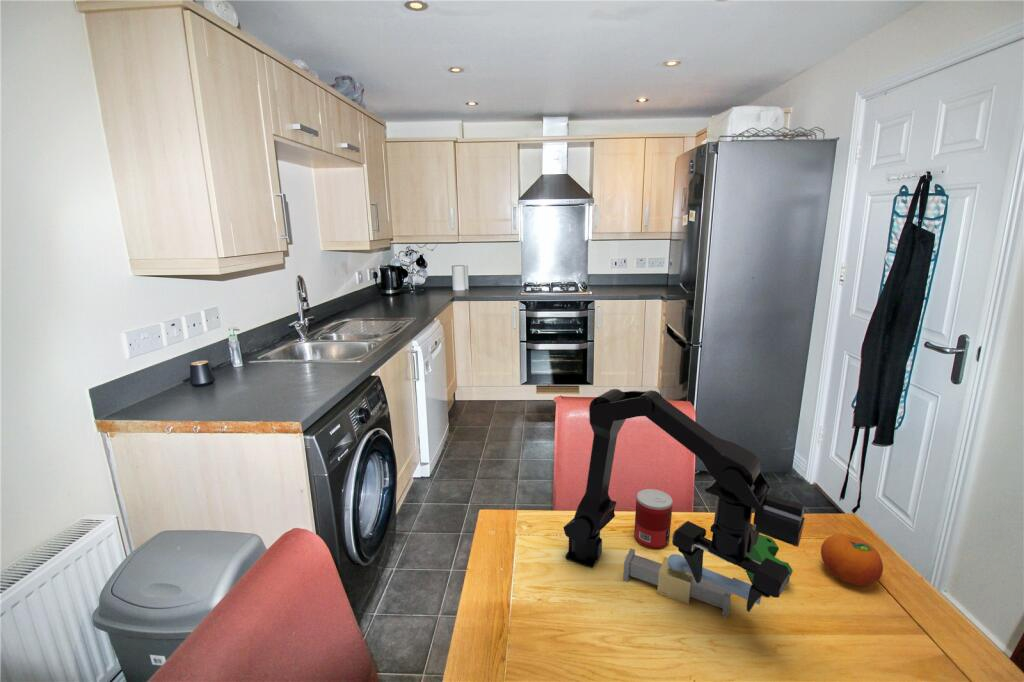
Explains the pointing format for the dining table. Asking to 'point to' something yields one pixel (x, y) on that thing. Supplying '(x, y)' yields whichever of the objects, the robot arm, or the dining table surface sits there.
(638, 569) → the pipe valve
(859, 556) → the fruit
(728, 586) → the lever
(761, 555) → the green bracket
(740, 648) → the dining table surface
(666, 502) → the canned food
